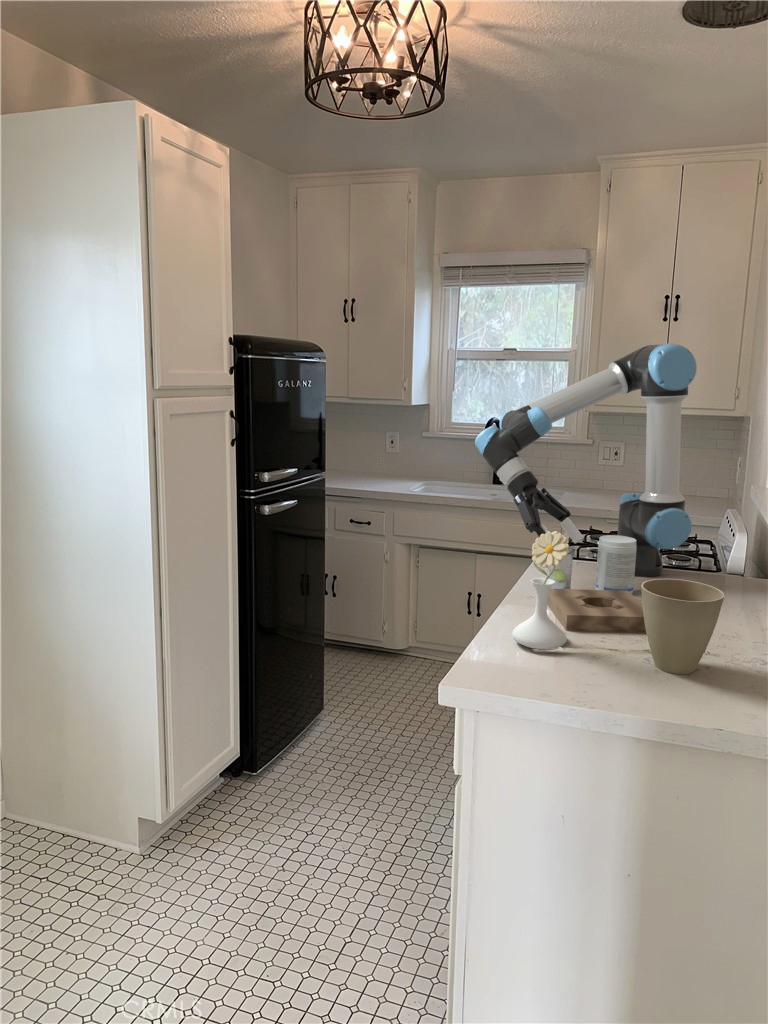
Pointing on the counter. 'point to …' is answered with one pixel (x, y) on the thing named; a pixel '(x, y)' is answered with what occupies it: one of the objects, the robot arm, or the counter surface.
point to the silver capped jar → (567, 568)
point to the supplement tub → (616, 563)
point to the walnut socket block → (597, 610)
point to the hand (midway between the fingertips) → (567, 544)
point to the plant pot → (679, 621)
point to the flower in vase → (544, 595)
